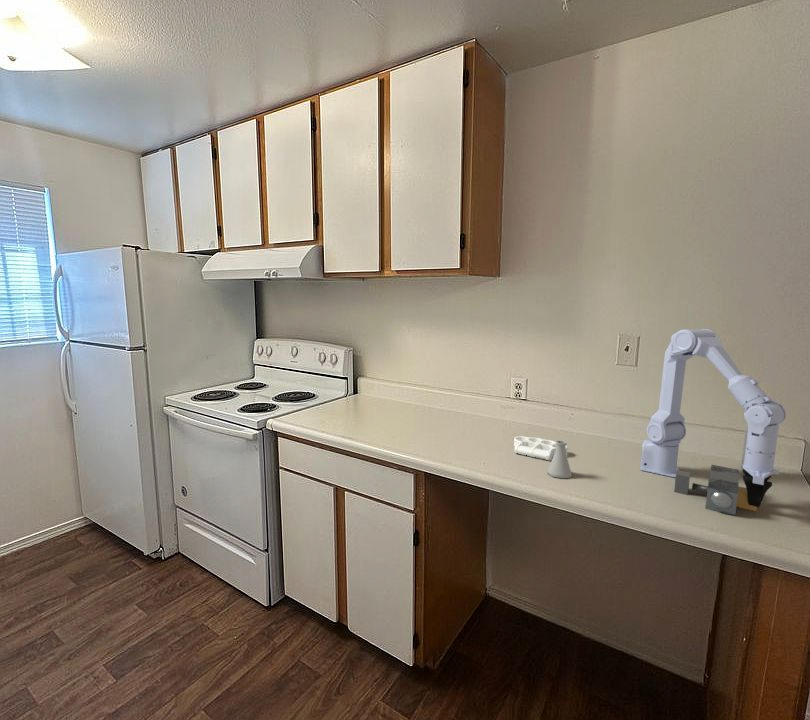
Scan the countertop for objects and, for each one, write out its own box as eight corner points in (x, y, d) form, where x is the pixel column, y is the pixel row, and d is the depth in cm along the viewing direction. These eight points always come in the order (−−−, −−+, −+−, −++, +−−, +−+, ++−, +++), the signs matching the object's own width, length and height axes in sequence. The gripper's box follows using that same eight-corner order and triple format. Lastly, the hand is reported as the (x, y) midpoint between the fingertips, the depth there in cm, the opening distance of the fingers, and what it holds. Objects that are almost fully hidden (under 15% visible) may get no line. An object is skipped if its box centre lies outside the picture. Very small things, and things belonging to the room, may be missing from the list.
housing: (705, 509, 110) (708, 484, 109) (709, 486, 123) (711, 464, 122) (735, 517, 106) (738, 491, 105) (735, 492, 120) (738, 469, 119)
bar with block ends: (674, 492, 120) (675, 474, 119) (675, 487, 123) (677, 469, 122) (761, 512, 109) (764, 493, 108) (760, 506, 112) (763, 487, 111)
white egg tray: (504, 453, 149) (520, 442, 161) (559, 465, 139) (571, 452, 151) (505, 444, 149) (520, 433, 161) (559, 455, 139) (571, 442, 151)
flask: (543, 469, 135) (545, 437, 133) (567, 469, 134) (569, 438, 133) (550, 479, 128) (552, 445, 126) (575, 479, 127) (578, 446, 126)
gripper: (783, 462, 101) (776, 518, 103) (779, 445, 112) (772, 496, 114) (744, 455, 105) (738, 509, 107) (744, 440, 117) (738, 489, 118)
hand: (753, 502), depth 111 cm, fingers closed on bar with block ends, 4 cm apart
